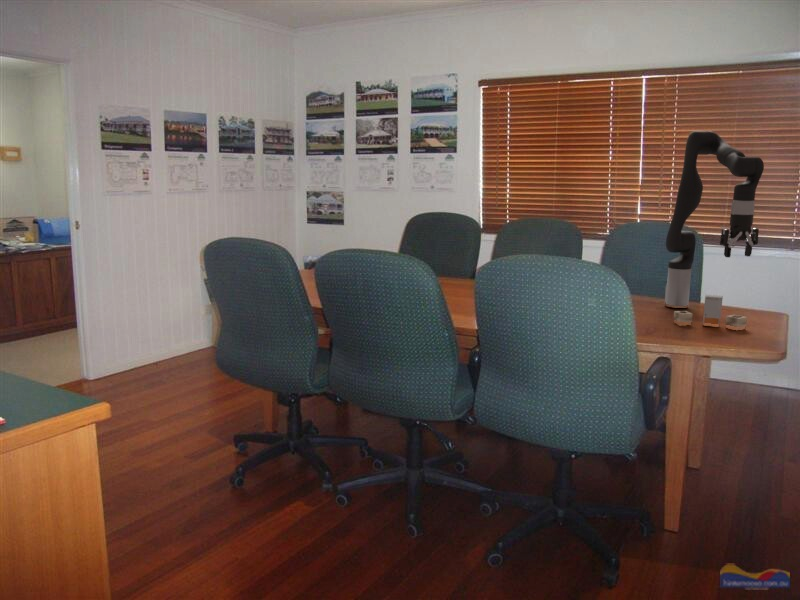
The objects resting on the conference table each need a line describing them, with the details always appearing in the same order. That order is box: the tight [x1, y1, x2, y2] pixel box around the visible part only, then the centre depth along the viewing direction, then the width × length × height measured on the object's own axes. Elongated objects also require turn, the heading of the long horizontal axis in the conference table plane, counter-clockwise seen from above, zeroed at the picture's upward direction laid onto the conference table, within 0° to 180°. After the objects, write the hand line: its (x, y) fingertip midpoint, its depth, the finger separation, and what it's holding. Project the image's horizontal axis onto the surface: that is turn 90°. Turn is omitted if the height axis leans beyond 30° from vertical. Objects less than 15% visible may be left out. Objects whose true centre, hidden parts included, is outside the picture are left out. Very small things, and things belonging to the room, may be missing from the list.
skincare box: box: [702, 294, 724, 325], centre depth 256 cm, size 6×4×12 cm
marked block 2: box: [725, 314, 748, 327], centre depth 252 cm, size 5×5×5 cm
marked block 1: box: [673, 310, 693, 323], centre depth 260 cm, size 5×5×5 cm
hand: (737, 256), depth 248 cm, fingers open, 8 cm apart
